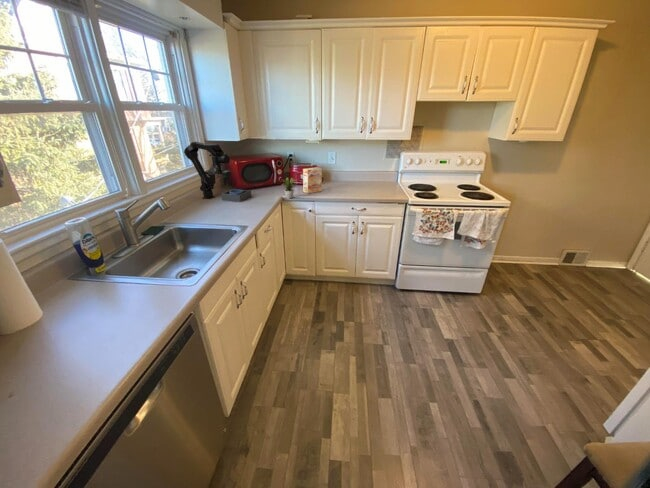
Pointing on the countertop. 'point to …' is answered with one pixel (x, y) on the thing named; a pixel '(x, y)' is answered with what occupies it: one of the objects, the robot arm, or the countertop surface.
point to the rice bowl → (236, 192)
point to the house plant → (289, 188)
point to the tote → (236, 196)
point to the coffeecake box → (312, 180)
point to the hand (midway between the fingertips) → (219, 184)
